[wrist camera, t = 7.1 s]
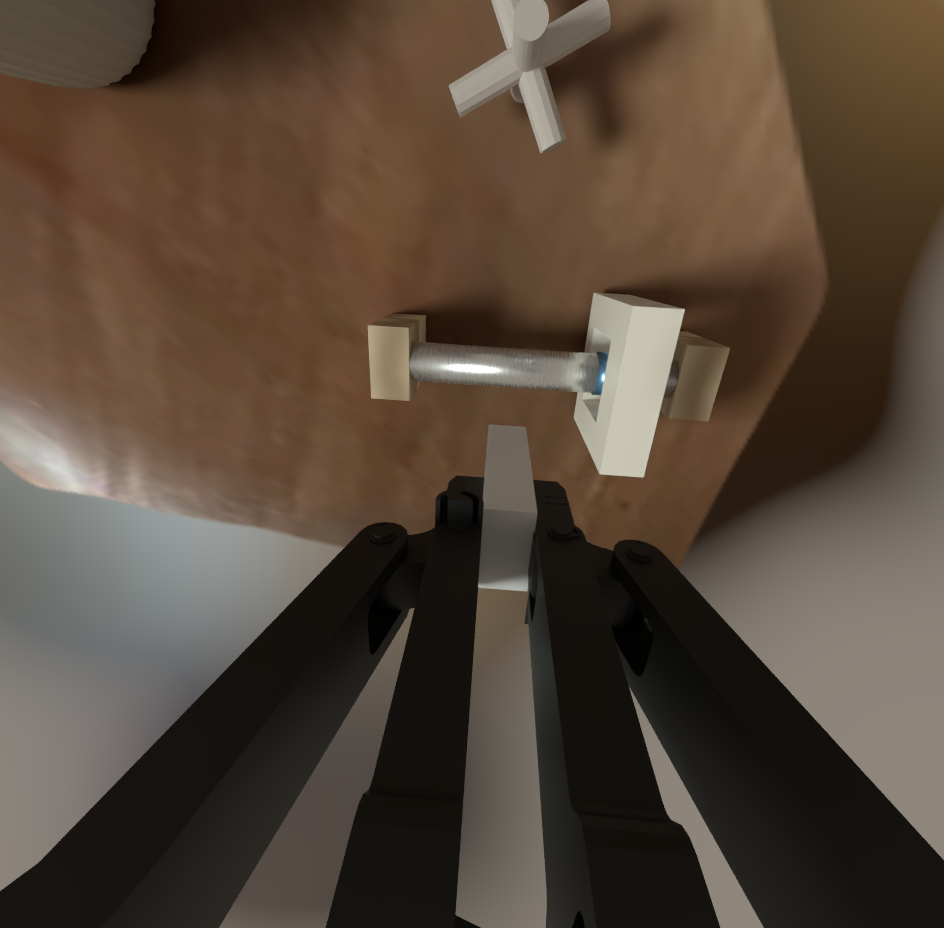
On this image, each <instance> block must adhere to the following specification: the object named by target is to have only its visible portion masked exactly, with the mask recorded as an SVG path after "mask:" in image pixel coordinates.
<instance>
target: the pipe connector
mask: <svg viewBox="0 0 944 928" xmlns="http://www.w3.org/2000/svg"><path fill="white" fill-rule="evenodd" d="M491 1H492V4H493V7H494V10H495V13H496V16H497V20H498V23H499V26H500V29H501V32H502V35H503V38H504V41H505V44H506V47H507V50H506V51H504V52H503V53H501V54H499V55H498V56H496V57H494V58H493V59H491V60H489V61H488V62H486V63H484V64H483V65H481V66H480V67H478V68H476V69H475V70H473V71H471V72H470V73H468V74H466V75H465V76H463V77H461V78H460V79H458V80H457V81H455V82H453V83H452V84H450V85H449V88H450V91H451V94H452V97H453V100H454V102H455V105H456V108H457V110H458V113H459V115H460V118H461V117H462V116H464V115H466V114H467V113H469V112H471V111H473V110H474V109H476V108H478V107H479V106H481V105H483V104H485V103H486V102H488V101H490V100H491V99H493V98H495V97H497V96H498V95H500V94H502V93H503V92H505V91H507V90H508V89H510V91H511V95H512V97H513V98H514V100H515V101H517V102H519V103H525V106H526V109H527V113H528V116H529V119H530V122H531V125H532V128H533V131H534V134H535V137H536V140H537V144H538V147H539V150H540V153H541V154H544V153H547V152H549V151H551V150H553V149H555V148H556V147H558V146H559V145H561V144H562V143H564V142H565V141H566V140H567V139H566V136H565V132H564V129H563V126H562V122H561V119H560V116H559V112H558V109H557V106H556V102H555V99H554V96H553V92H552V89H551V86H550V82H549V79H548V75H547V72H546V69H545V68H546V67H548V66H549V65H551V64H553V63H555V62H556V61H558V60H560V59H561V58H563V57H565V56H567V55H568V54H570V53H572V52H573V51H575V50H577V49H578V48H580V47H582V46H584V45H585V44H587V43H589V42H590V41H592V40H594V39H596V38H597V37H599V36H601V35H602V34H604V33H606V32H608V31H609V30H610V25H611V21H610V10H609V5H608V1H607V0H588V1H586V2H585V3H583V4H581V5H580V6H578V7H576V8H575V9H573V10H572V11H570V12H568V13H567V14H565V15H563V16H562V17H560V18H558V19H557V20H555V21H553V22H552V23H550V24H549V25H548V19H549V13H548V7H547V5H546V3H545V1H544V0H491Z"/></svg>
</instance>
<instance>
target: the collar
mask: <svg viewBox="0 0 944 928" xmlns="http://www.w3.org/2000/svg"><path fill="white" fill-rule="evenodd" d="M684 311H685V309H682V308H678V307H675V306H671V305H667V304H663V303H659V302H656V301H652V300H648V299H644V298H640V297H637V296H633V295H625V294H609V293H594V294H593V301H592V307H591V313H590V319H589V326H588V332H587V338H586V344H585V351H584V353H597V352H598V351H599V352H609V355H608V361H607V366H606V372H605V377H604V383H603V388H602V394H601V395H592V394H591V393H586V392H578V394H577V401H576V407H575V413H574V419H575V421H576V424H577V426H578V428H579V430H580V432H581V434H582V437H583V439H584V441H585V443H586V445H587V448H588V450H589V452H590V454H591V456H592V458H593V461H594V463H595V465H596V467H597V469H598V471H599V474H605V475H618V476H632V477H644V473H645V469H646V465H647V461H648V457H649V453H650V449H651V445H652V441H653V437H654V433H655V429H656V425H657V421H658V417H659V412H660V408H661V404H662V400H663V396H664V392H665V388H666V384H667V380H668V376H669V372H670V368H671V364H672V360H673V356H674V352H675V348H676V344H677V340H678V336H679V332H680V327H681V323H682V319H683V315H684Z"/></svg>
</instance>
